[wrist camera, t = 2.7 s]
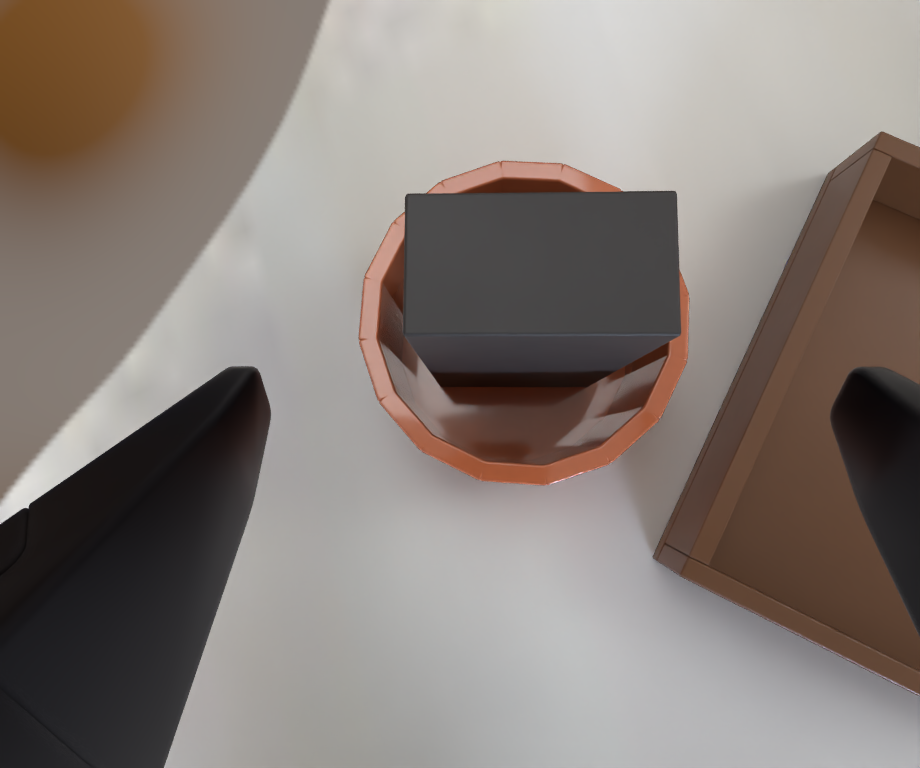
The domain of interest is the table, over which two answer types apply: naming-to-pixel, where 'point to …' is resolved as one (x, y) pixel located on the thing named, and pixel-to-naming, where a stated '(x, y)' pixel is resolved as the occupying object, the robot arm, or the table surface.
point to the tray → (814, 427)
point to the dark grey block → (539, 284)
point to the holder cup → (509, 408)
